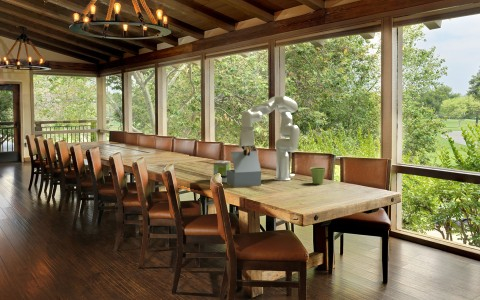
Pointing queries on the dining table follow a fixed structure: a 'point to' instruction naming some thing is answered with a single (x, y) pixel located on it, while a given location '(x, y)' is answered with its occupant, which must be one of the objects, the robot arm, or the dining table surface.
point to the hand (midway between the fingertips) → (246, 155)
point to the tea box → (222, 169)
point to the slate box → (243, 179)
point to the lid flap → (245, 162)
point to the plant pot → (317, 175)
